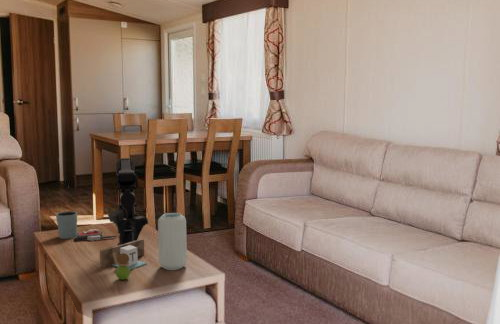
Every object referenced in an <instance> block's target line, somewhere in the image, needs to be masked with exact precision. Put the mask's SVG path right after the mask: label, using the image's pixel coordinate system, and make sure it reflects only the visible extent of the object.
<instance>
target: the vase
mask: <svg viewBox="0 0 500 324" xmlns="http://www.w3.org/2000/svg"><path fill="white" fill-rule="evenodd" d="M157 236H158V237H157V238H158V243H157V244H158V263H159V266H160V267H162V268H163V269H164V270H167V271H177V270H180V269H182V268H183V267H184V266H186V264H187V262H188V261H187V259H188V255H187V253H188V252H187V251H188V249H187V248H188V247H187V246H188V245H187V242H188V241H187V219H186V217H185V216H184V215H183V214H181V213H179V212H166V213H164V214H162V215H161V216H160V217H158V219H157Z"/></svg>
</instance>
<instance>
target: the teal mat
mask: <svg viewBox="0 0 500 324" xmlns="http://www.w3.org/2000/svg"><path fill="white" fill-rule="evenodd" d="M146 265H147V262H143V261H141V260H138V264H135V265H132V266H127V267H128V268H129V269H130V271H131V270H134V269H137V268H141V267H144V266H146ZM111 266H112V267H114V268H118V267H120V266H119V265H117V264H116V263H115V264H112V265H111Z"/></svg>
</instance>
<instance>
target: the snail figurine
mask: <svg viewBox="0 0 500 324" xmlns="http://www.w3.org/2000/svg"><path fill="white" fill-rule="evenodd" d="M112 251H114V249H113V250H112ZM113 257H114V260H115V263H116V264H117V265H119V266H120V267H118V268H117V267H116V268H117V269H116V270H115V275H116V277H117V278H118V279H119V280H121V281H122V280H126V279H128V278H129V277H130V275H131V270H130V269H129V268H128V267H127V265H129V263H128V261H129V256H128V255H127V254H125V253H122V254H120V255H119V256H118V258H117V257H116V253H115V252H113Z"/></svg>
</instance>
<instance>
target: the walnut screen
mask: <svg viewBox="0 0 500 324" xmlns="http://www.w3.org/2000/svg"><path fill="white" fill-rule="evenodd" d="M129 245H131V246H134V247H137V256H138V257H141V256H144V255H145V239H144V238H140V239H139V238H138V239H137V240H136V241H132V242H129V243H125V244H121V245H119V244H118V245H115V246H111V247H108V248H104V249H100V250H99V266H100V268H105V267H108V266H112V264H115V260H114V257H113V252H115V253H116V257H117V258H118V256H119V255H120V248H122V247H125V246H129ZM113 249H114V251H112V250H113Z"/></svg>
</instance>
